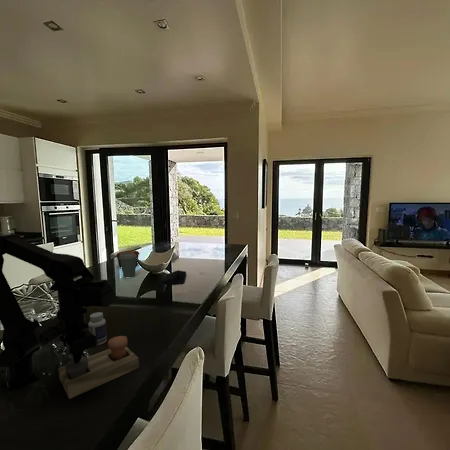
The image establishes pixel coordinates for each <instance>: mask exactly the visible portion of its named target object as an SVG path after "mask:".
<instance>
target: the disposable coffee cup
mask: <svg viewBox="0 0 450 450" xmlns="http://www.w3.org/2000/svg"><path fill="white" fill-rule="evenodd" d="M136 257H137V255H136V254H135V253H122V254H120V256H119V259H120V263H121V267H122V269H121V271H122V276H123V278H124V277H133V276H134V277H135V276H136V268H137V267H136ZM134 277H133V278H134Z"/></svg>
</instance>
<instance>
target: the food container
mask: <svg viewBox="0 0 450 450" xmlns="http://www.w3.org/2000/svg"><path fill="white" fill-rule="evenodd" d="M122 253H135V254H136V255H137V257H136V258H137V259H138V260H139V256H140V252H139V251H138V250H124V251H119V252H117V253H116V255H115V256H116V257H117V262H118V268H119V267H121V263H120V259H119V256H120V254H122ZM137 265H139V262H138V263H137V261H136V266H137ZM137 267H138V266H137Z"/></svg>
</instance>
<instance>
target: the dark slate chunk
mask: <svg viewBox="0 0 450 450" xmlns="http://www.w3.org/2000/svg"><path fill="white" fill-rule="evenodd" d="M186 278H187V271H184V270H179V269H178V270H175V271H172V272H169V273H167V274H166V275H165V276H164V277H163V278H162V279H160V280H159V282H158V283H157V285H160V284H166V285H165V286H176V285H178V286H179V285H184V284H185V280H186Z"/></svg>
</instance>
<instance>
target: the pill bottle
mask: <svg viewBox="0 0 450 450" xmlns="http://www.w3.org/2000/svg"><path fill="white" fill-rule="evenodd" d="M103 314H104V313H103V312H102V311H101V312H98V311H97V312H93V313H91V314H90V315H89V318H90V319H89V322H88V323H87V324H88V330H89V331H91V332H93V333H94V334H95V335H96V336H97V342H98V344H97V345H96V346H100V345H103V344H105V343H106V342H108V341H107V340H108V336H107V334H108V333H107V323H106V319H105V318H104V315H103Z"/></svg>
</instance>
